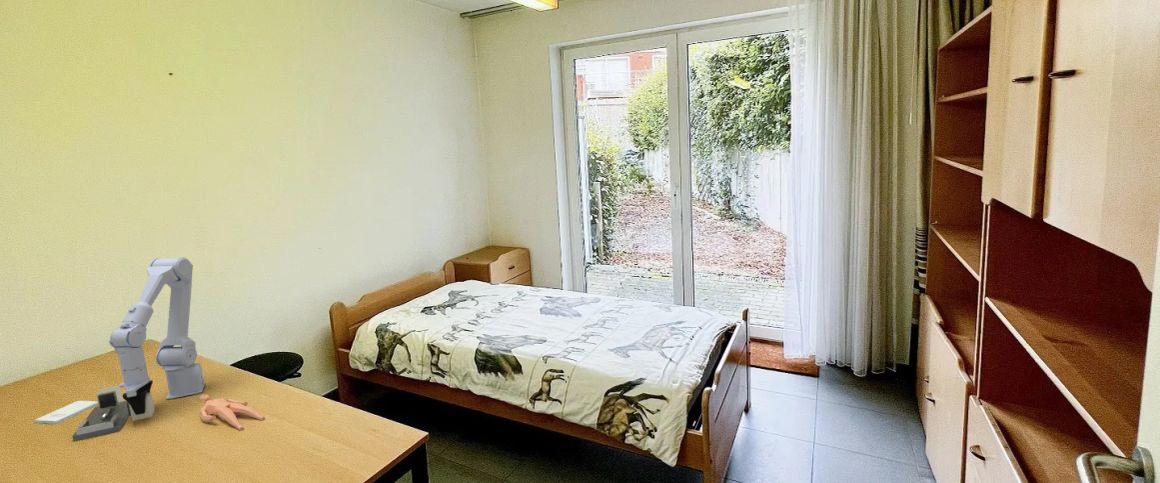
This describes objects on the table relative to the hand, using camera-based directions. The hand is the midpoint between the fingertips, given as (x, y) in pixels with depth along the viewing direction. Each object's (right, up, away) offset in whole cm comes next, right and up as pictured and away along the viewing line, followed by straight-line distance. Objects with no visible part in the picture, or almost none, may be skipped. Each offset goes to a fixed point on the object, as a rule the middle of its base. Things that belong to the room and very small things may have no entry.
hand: (142, 410), depth 164 cm
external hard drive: (-26, -3, +5) cm, 27 cm away
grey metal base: (-9, -3, -2) cm, 9 cm away
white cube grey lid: (0, -2, 0) cm, 2 cm away
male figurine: (+27, -1, -3) cm, 27 cm away
